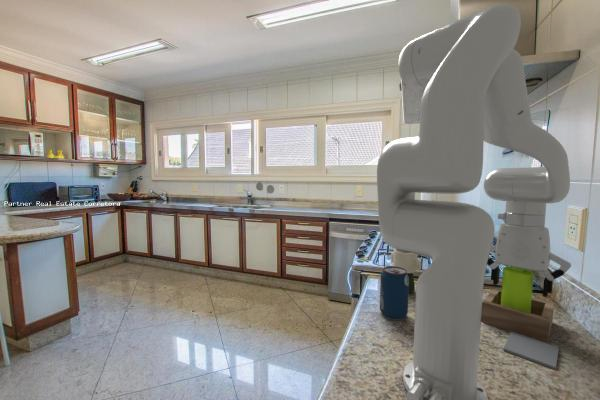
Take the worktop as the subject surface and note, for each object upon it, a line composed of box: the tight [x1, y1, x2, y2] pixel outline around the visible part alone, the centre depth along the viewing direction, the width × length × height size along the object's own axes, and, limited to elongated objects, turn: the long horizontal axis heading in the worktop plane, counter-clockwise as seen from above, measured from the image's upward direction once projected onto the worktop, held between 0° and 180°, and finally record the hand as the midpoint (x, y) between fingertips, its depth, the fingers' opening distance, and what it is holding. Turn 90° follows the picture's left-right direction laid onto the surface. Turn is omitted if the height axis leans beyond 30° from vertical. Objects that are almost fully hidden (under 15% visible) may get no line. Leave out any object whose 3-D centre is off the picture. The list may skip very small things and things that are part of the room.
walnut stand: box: [481, 288, 555, 344], centre depth 69 cm, size 12×12×5 cm
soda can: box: [379, 265, 410, 321], centre depth 71 cm, size 7×7×12 cm
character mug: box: [390, 248, 422, 293], centre depth 87 cm, size 11×7×13 cm, turn 31°
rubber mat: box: [502, 331, 560, 370], centre depth 57 cm, size 9×8×1 cm
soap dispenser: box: [501, 266, 535, 313], centre depth 68 cm, size 6×7×20 cm
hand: (519, 289), depth 68 cm, fingers open, 9 cm apart
